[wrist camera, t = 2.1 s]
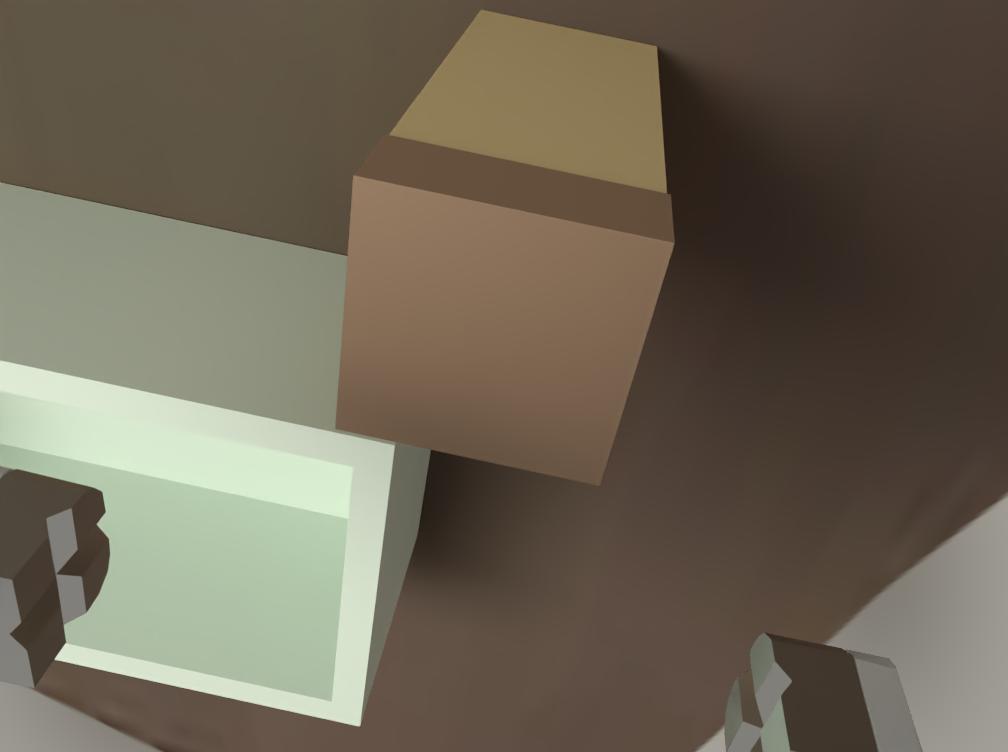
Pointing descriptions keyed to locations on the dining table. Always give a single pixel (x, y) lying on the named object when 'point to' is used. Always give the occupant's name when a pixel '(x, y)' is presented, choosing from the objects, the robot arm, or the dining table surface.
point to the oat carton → (509, 251)
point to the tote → (205, 451)
